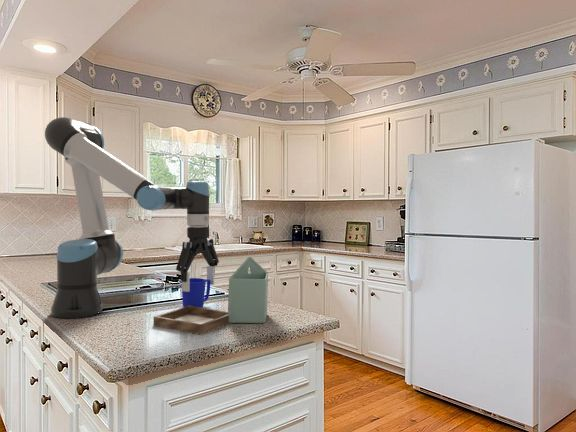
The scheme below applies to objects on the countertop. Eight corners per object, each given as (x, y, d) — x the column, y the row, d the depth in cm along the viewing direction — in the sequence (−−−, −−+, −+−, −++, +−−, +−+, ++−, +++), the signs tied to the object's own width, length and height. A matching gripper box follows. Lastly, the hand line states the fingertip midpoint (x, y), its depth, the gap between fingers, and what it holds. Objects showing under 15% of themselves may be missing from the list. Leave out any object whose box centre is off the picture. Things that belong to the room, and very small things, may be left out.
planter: (244, 328, 129) (246, 261, 128) (227, 322, 135) (229, 258, 134) (282, 317, 141) (284, 257, 140) (265, 312, 147) (267, 254, 146)
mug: (217, 306, 155) (218, 278, 155) (193, 313, 145) (193, 283, 145) (200, 302, 160) (201, 275, 159) (175, 309, 150) (176, 280, 149)
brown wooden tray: (153, 325, 131) (153, 316, 131) (188, 313, 145) (188, 305, 145) (201, 334, 123) (202, 325, 123) (233, 321, 137) (234, 312, 137)
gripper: (182, 228, 139) (183, 295, 139) (228, 224, 161) (228, 282, 162) (164, 228, 142) (165, 293, 143) (211, 224, 164) (211, 280, 165)
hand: (198, 287), depth 152 cm, fingers open, 13 cm apart
